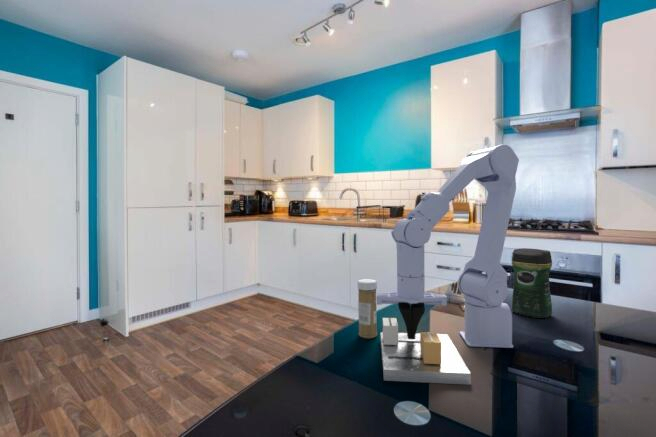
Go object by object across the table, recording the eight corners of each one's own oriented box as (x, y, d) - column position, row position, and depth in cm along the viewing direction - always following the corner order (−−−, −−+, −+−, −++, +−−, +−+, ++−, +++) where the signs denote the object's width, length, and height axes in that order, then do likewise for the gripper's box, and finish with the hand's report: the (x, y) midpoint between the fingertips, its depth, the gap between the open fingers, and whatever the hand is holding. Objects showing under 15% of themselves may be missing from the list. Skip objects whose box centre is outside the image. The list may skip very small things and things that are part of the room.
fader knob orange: (435, 352, 67) (435, 331, 67) (441, 364, 63) (441, 341, 62) (420, 351, 68) (420, 331, 68) (424, 363, 63) (424, 341, 63)
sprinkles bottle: (381, 336, 82) (380, 280, 81) (366, 340, 79) (365, 283, 79) (368, 330, 86) (368, 277, 85) (354, 334, 83) (353, 279, 83)
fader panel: (447, 343, 77) (447, 333, 77) (470, 384, 60) (470, 372, 59) (380, 340, 79) (380, 331, 79) (383, 380, 61) (383, 368, 61)
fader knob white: (396, 335, 76) (396, 317, 76) (398, 344, 71) (398, 325, 71) (382, 335, 77) (382, 317, 76) (383, 344, 72) (383, 324, 71)
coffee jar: (555, 315, 96) (556, 249, 95) (544, 321, 91) (545, 251, 90) (519, 307, 103) (519, 246, 102) (507, 312, 98) (507, 248, 97)
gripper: (376, 278, 70) (377, 343, 70) (450, 279, 68) (450, 346, 69) (376, 271, 77) (376, 331, 77) (442, 272, 75) (442, 333, 76)
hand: (411, 337), depth 73 cm, fingers closed
